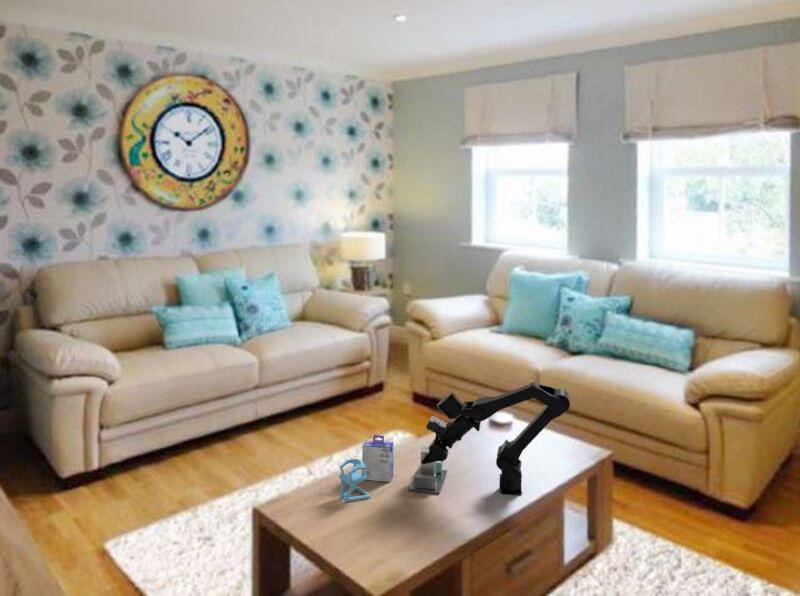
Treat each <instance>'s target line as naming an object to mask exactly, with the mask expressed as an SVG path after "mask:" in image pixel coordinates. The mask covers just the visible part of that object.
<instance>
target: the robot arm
mask: <svg viewBox="0 0 800 596" xmlns="http://www.w3.org/2000/svg"><path fill="white" fill-rule="evenodd" d="M532 399H534V400H537V401H538V402H540V403H541V404H544V406H543V408H542V409H541V410H540V412H539V413H538V414H537V415H536V416H535V417H534V418H533V419H532V420H531V421H530V422H529V423H528V424H527V425H526V427H524V429H523V430H522V431H521V432H520V433H519V434H518V435H517V436H516V437H515V439H513V440H511V441H509V439H505V440H504V442H503V443H502V444H501V445H499V446H498V449H497V454H496V461H495V463H496V467H497V469H499V470H500V471H501V473H500V474H499V482H498V483H499V484H498V486H499V489H500V493H501V494H503V495H517V496H518V495H519V494H521V495H523V491H522V477H523V474H522V473H523V472H522V460H521V459H520V457H521V455H522V453H523V452H524V450H525V449H526V448H527V447H528V446H529V445H530V444H531V442H533V441H534V439H536V438H537V436H538V435H539V434H540V433H541V432H542V431H543V430H544V429H545V428H546V427H547V426H548V425H549V424H550V423H551V422H552V421H553V420H555V419H557V418H559V417H561V416H562V415H564V414H565V413H566V412H568V410H569V409H570V407H571V402H570V395H569V393H568V392H567V390H565V389H562V388H555V387H552V386H548V385H545V384H541V383H539V382H537V381H534V382H530V383H529V384H526V385H523V386H521V387H519V388H518V387H517V388H516V389H512V390H510V391H506V392H504V393H503V394H499V395H495V396H485V397H479V398H477V399H475V400H469V401H463V402H462V401H461V400H460V399H459V398H458V397H457V395H456V394H455V393H454V392H450V393H449V394H447V395H446V396H443V397H442V398H441V400H440V401H439V402H438V403H437V405H436V407H437V408H438V409H439V410H440V411H441V413H443V414H444V415H445V417H446V418H448V419H450V420H452V419H453V420H452V421H450V420H449V421H448V422H445V421H444V420H442V419H441V418H438V417H436V416H435V415H431V416H430V418H429V420H428V421H427V423H426V425H425V428H426V430H428V431H431V432H432V433H434V434H435V438H434V439H433V440H432V441H431V443H430V444H429V445H428V447H429V452H428V454H427V455H426V456H425V457H424V459H423V460H422V461H421V460H420V464H421V463H422V464H427V463H431V462H436V461H442V463H443V462H444V461H445V460H447V459H448V456H449V449H450V450H451V449H452V448H453V446H454V445H455V444H456V443H457V442H461V440H462V439H463V437H464V436H465V435H466V434H467V433H469V432H470V431H471V430H472V429H475V430H476V432H480V429H481V423H482V422H485V420H487V419H489V418H491V417H492V416H494V415H495V414H496V413H497V412H499V411H501V410H503V409H507V408H510V407H513V406H515V405H517V404H521V403H523V402H525V401H529V400H532Z"/></svg>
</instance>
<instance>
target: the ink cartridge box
mask: <svg viewBox="0 0 800 596" xmlns="http://www.w3.org/2000/svg"><path fill="white" fill-rule="evenodd" d="M377 438H380V439H377ZM361 451H362V452H361V455H362V457H361V458H362V460H361V461H362V462H363V463H364V464H365V466H366V467H365V471H364V475H365V476H366V477H367V480H366V481H373V482H384V483H385V482H386V483H388V482H389V483H390V482H391V481H392V479H393V478H394V477H395V474H394V473H395V470H394V468H395V467H394V465H395V464H394V460H395V459H394V453H395V452H394V442H393V441H385V436H384V435H379V434H378V435H376V434H374V435H373V437H372V440H365V442H364V443H363V444H362V447H361Z"/></svg>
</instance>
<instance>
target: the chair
mask: <svg viewBox="0 0 800 596" xmlns="http://www.w3.org/2000/svg"><path fill="white" fill-rule="evenodd" d="M348 464H352V465H353V467H352V468H351V469H350V470H349V471H348V472H345V471H344V469H343V468H344V467H345V466H346V465H348ZM338 467H339V469H340V472H341V473H340V474H339V475H338V478H339V479H340V493H339V500H344V501H343V502H344V503H345V502H346V503H349V502H348V501H350V502H354V501H353V500H356V501H362V500H367V499H370V498H371V494H370V493H368V492H367V491H365V490H363V489H362V488H361V487H359V486H358V484H360V483H361V482H363V481H368V480H367V477H366V476H365V475H364V471H365V467H366V466H365V464H364V463H363V462H362V460H361V459H358V458H351V459H347V460H345V461H344V462H342V464H340V465H339V466H338ZM359 470H362V471H359ZM346 484H347V485H348V486H349V488H348V491H345V489H346ZM356 489H357V490H356ZM353 491H354V492H355V491H358V492H360V493H361V492H362V494H363V495H358V496H352V497H350V496H351V495H352V494H353V493H354V492H353ZM352 492H353V493H352ZM364 494H365V495H364ZM344 497H345V498H344ZM342 498H344V499H342ZM366 498H367V499H366ZM361 499H362V500H361Z"/></svg>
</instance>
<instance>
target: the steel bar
mask: <svg viewBox="0 0 800 596" xmlns="http://www.w3.org/2000/svg"><path fill="white" fill-rule="evenodd" d="M428 452H429V446H422V448H421V450H420V468H421V475H428V476H436V462H431V463H427V464H422V463H421V461H422V460H423V459H424V457H425V456H426V455H427V454H428Z"/></svg>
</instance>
